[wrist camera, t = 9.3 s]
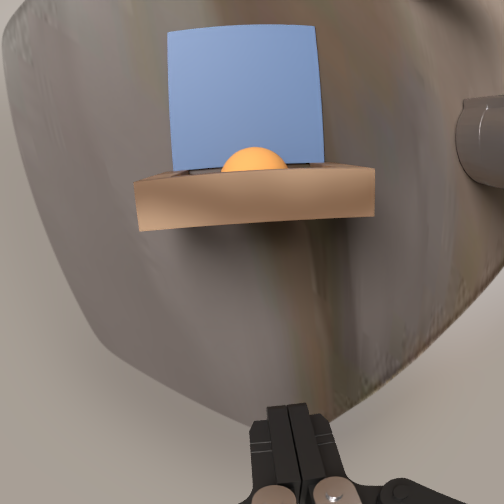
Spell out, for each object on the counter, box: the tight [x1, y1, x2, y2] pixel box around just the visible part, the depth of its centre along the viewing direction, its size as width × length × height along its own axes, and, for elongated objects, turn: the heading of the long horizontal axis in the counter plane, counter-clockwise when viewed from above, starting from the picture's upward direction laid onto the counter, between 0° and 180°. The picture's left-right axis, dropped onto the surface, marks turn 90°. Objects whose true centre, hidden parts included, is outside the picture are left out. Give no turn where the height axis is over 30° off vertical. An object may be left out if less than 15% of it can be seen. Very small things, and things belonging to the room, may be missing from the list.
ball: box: [221, 147, 288, 172], centre depth 24 cm, size 6×6×6 cm
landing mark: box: [168, 25, 324, 171], centre depth 24 cm, size 13×13×1 cm
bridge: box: [134, 162, 375, 231], centre depth 23 cm, size 3×14×9 cm, turn 93°
